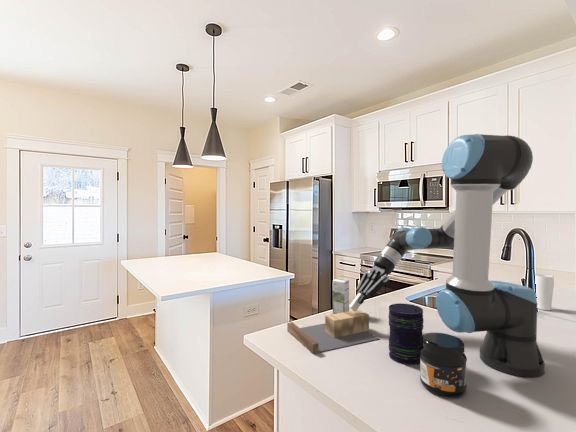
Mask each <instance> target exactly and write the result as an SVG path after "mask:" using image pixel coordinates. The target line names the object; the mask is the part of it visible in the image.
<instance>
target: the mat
mask: <svg viewBox="0 0 576 432" xmlns="http://www.w3.org/2000/svg"><path fill="white" fill-rule="evenodd" d="M299 328H300V329H301V330H303V331H304V332H305V333H306V334H308V335H309V336H310V337H311V338H313V339H314V340H315V341H316V342H318V343H319V353H324V352H328V351H329V352H330V351H332V350H337V349H338V350H339V349H342V348H347V347H350V346H355V345H356V346H357V345H359V344H361V345H362V344H364V343H369V342H373V341H374V342H375V341H379V340H380V337H378V336H376V335H374V334H372V333H371V332H369V331H365V332H360V333H355V334H350V335H346V336H341V337H336V338H334V337H332V336H331V335H329V334H328V333H327V332H325V323H320V324H314V325H309V326H303V327H299ZM319 353H318V354H319Z"/></svg>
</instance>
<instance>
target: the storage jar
mask: <svg viewBox="0 0 576 432" xmlns="http://www.w3.org/2000/svg"><path fill="white" fill-rule="evenodd" d="M388 310H389V311H388V326H389V336H388V350H389V353H388V356H389V358H390V359H391V360H392V361H393V362H395V363H397V364H401V365H405V366H418V365H420V348H421V346H422V336H423V330H424V327H425V326H424V309H423V308H422V307H420V306H418V305H415V304H410V303H392V304H390V305H389V306H388Z"/></svg>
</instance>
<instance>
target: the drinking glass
mask: <svg viewBox="0 0 576 432" xmlns="http://www.w3.org/2000/svg"><path fill="white" fill-rule="evenodd" d="M534 275H535V284H536V297H537V303H538V305H537V308H538V309H537V310H541V311H545V312H546V311H547V312H548V311H551V310H552V302H553V295H554V286H555V284H554V283H555V280H554V276H553V275H551V274H550V275H549V274H544V273H536V274H534Z"/></svg>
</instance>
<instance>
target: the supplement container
mask: <svg viewBox="0 0 576 432" xmlns="http://www.w3.org/2000/svg"><path fill="white" fill-rule="evenodd" d="M467 361H468V358H467V356H466V353H465V341H463V340H462V339H460V338H458V337H457V336H454V335H452V334H448V333H444V332H428V333H427V332H426V333H424V334H422V346H421V348H420V364H419V365H420V367H419V368H420V370H419V373H420V375H419V380H420V383H421V385H422V386H423V387H424V388H425V389H426V390H428V391H429V392H431V393H433V394H436V395H438V396H441V397H445V398H457V397H461V396H463V395H464V394H466V392H467Z"/></svg>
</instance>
